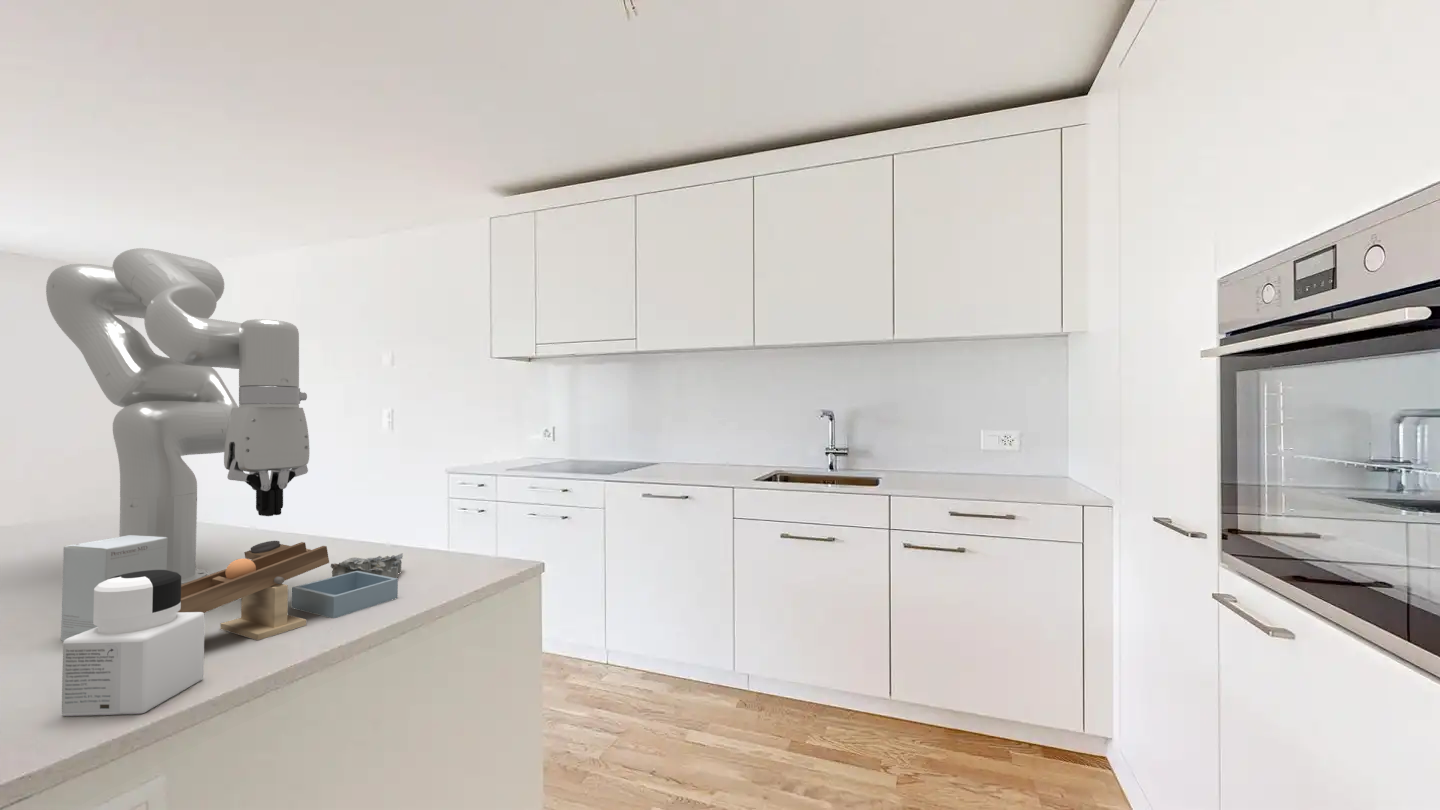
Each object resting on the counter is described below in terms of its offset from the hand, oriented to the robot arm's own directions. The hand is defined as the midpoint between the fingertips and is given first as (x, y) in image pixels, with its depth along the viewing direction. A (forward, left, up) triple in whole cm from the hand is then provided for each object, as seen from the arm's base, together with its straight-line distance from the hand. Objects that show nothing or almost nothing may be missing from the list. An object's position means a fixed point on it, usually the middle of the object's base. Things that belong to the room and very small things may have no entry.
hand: (269, 514), depth 91 cm
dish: (+11, +5, -14) cm, 19 cm away
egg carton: (+1, +16, -14) cm, 21 cm away
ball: (+11, -9, -5) cm, 15 cm away
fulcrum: (+11, -6, -14) cm, 18 cm away
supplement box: (-4, -16, -14) cm, 22 cm away
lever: (+6, -8, -8) cm, 13 cm away
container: (+21, -23, -14) cm, 34 cm away
